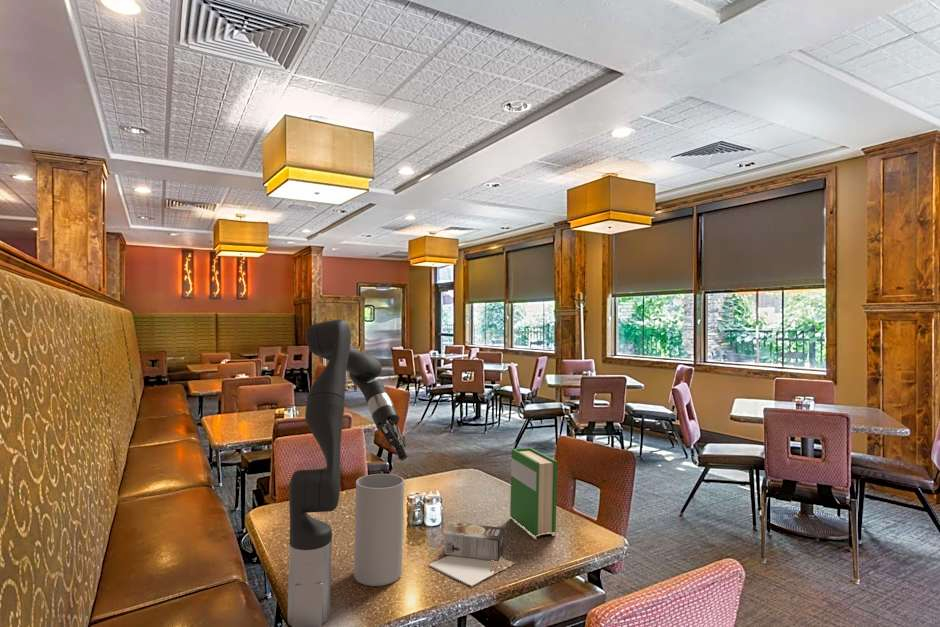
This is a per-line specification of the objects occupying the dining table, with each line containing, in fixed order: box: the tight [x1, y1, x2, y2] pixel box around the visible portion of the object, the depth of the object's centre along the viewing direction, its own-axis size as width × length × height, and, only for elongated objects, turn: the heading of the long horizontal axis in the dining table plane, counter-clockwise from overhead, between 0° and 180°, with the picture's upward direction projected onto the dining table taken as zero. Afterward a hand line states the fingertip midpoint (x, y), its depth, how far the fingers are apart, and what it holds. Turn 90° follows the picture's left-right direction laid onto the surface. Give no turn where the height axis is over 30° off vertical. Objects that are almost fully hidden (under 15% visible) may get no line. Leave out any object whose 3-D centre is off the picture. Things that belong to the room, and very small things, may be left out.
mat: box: [428, 555, 500, 586], centre depth 145 cm, size 16×18×1 cm
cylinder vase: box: [353, 473, 405, 587], centre depth 138 cm, size 12×12×25 cm
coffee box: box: [443, 521, 505, 561], centre depth 152 cm, size 9×6×16 cm
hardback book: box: [509, 447, 558, 536], centre depth 172 cm, size 18×7×24 cm, turn 22°
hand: (403, 458), depth 153 cm, fingers closed
